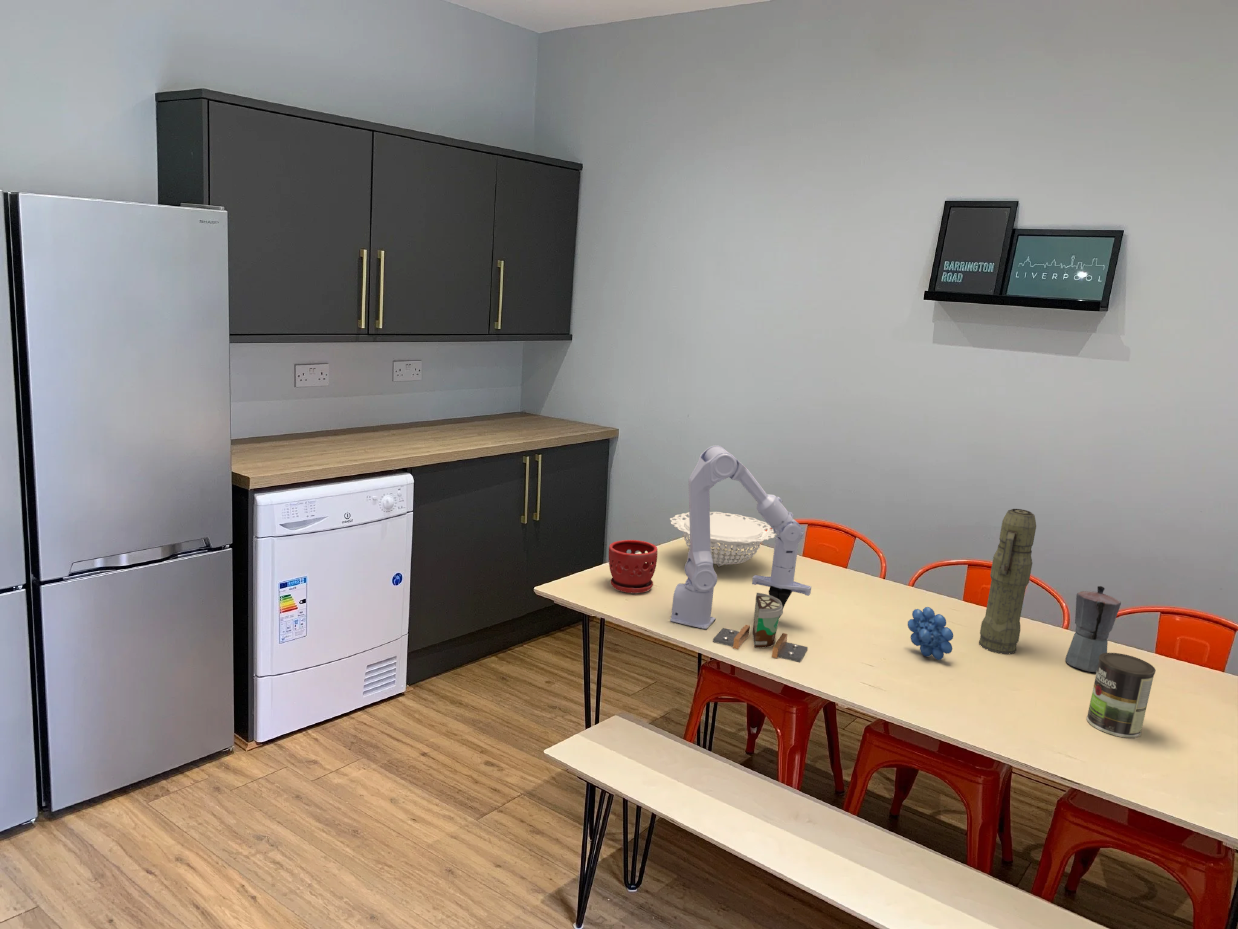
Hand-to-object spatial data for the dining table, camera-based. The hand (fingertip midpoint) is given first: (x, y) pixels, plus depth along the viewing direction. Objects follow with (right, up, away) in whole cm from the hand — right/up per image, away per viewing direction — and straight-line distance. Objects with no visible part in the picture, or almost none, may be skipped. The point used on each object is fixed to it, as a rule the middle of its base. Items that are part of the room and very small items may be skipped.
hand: (777, 616), depth 232 cm
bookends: (-7, -5, -15) cm, 17 cm away
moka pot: (+72, -11, -11) cm, 74 cm away
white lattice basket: (-10, +8, +43) cm, 45 cm away
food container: (-5, -4, -12) cm, 13 cm away
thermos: (+54, -7, -3) cm, 55 cm away
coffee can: (+63, -16, -41) cm, 77 cm away
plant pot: (-37, +5, +17) cm, 41 cm away
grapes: (+33, -8, -13) cm, 36 cm away
